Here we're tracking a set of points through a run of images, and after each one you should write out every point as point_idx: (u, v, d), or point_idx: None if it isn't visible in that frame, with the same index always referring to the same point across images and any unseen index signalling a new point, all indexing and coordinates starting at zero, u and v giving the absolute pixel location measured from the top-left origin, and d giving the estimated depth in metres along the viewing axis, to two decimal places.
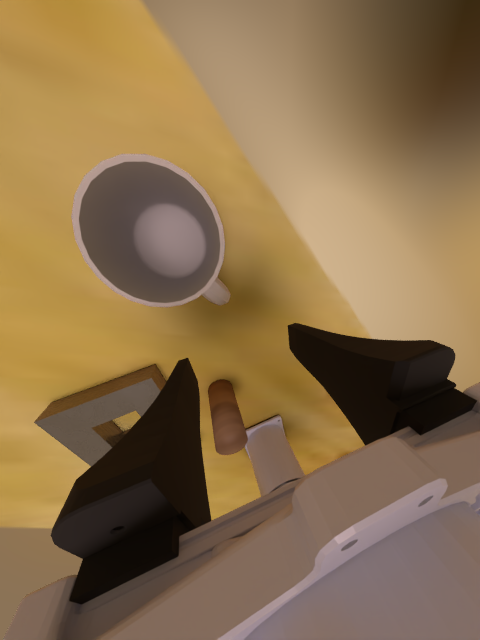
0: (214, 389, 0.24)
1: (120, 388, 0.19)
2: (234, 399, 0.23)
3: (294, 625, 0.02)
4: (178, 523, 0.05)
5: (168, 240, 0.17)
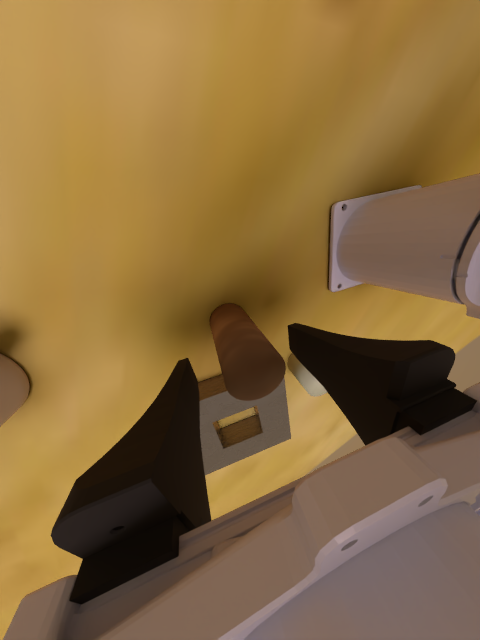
0: None
1: None
2: (223, 321, 0.13)
3: (294, 624, 0.02)
4: (178, 523, 0.05)
5: None
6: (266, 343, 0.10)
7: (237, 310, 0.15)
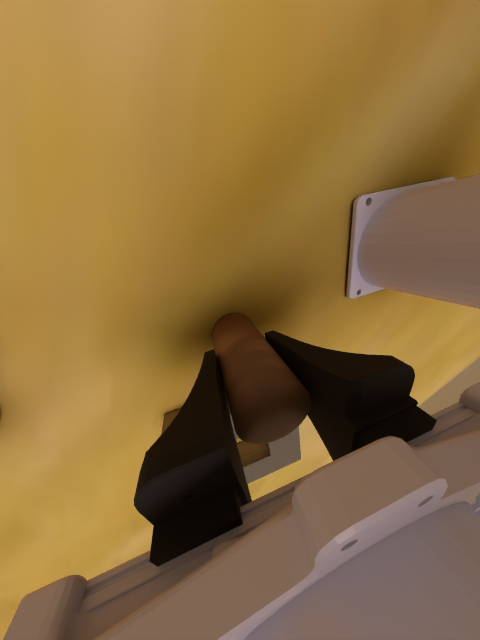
0: None
1: None
2: (228, 338, 0.11)
3: (294, 625, 0.02)
4: (237, 495, 0.05)
5: None
6: (286, 372, 0.08)
7: (244, 322, 0.12)
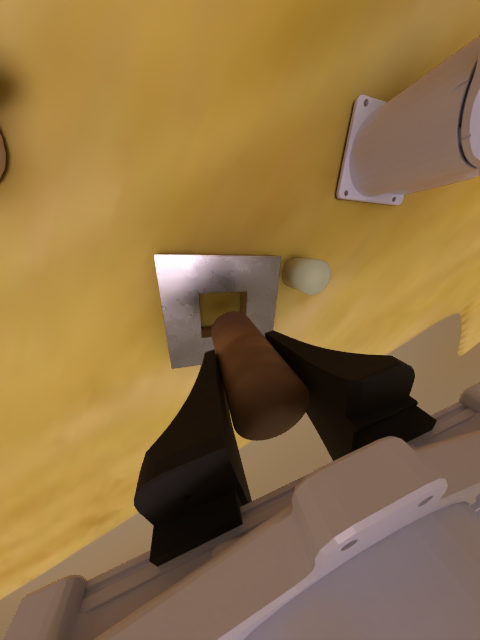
0: None
1: (160, 293, 0.16)
2: (228, 335, 0.11)
3: (294, 625, 0.02)
4: (237, 496, 0.05)
5: None
6: (286, 368, 0.08)
7: (244, 320, 0.12)
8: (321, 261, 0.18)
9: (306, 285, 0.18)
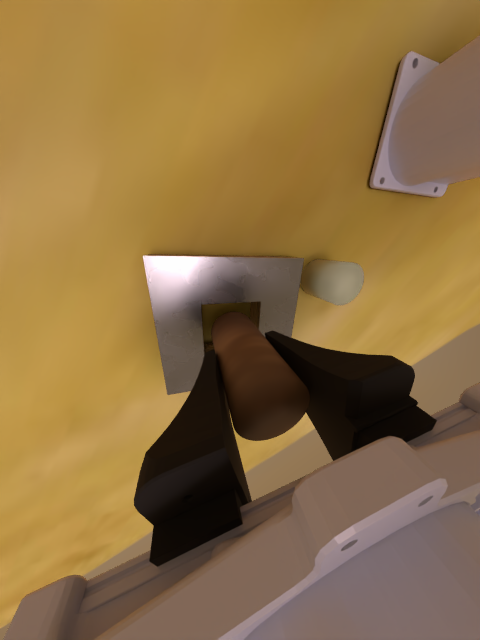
0: None
1: (152, 305, 0.13)
2: (228, 335, 0.11)
3: (294, 625, 0.02)
4: (237, 495, 0.05)
5: None
6: (286, 368, 0.08)
7: (244, 320, 0.12)
8: (354, 264, 0.14)
9: (334, 294, 0.15)
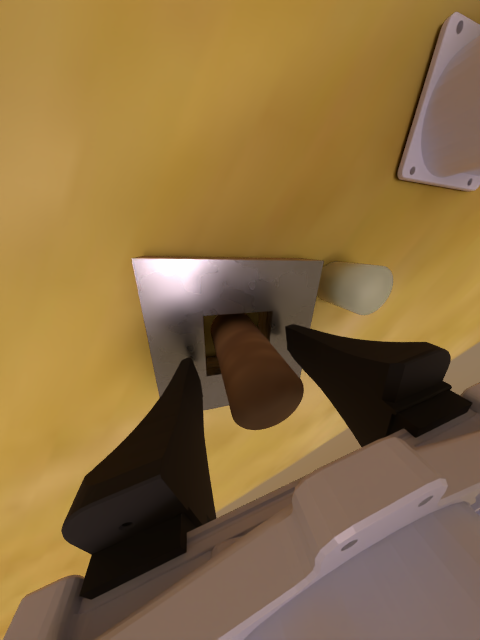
0: None
1: (144, 317, 0.11)
2: (227, 331, 0.11)
3: (294, 625, 0.02)
4: (185, 520, 0.05)
5: None
6: (281, 362, 0.08)
7: (243, 318, 0.13)
8: (383, 268, 0.12)
9: (358, 302, 0.13)
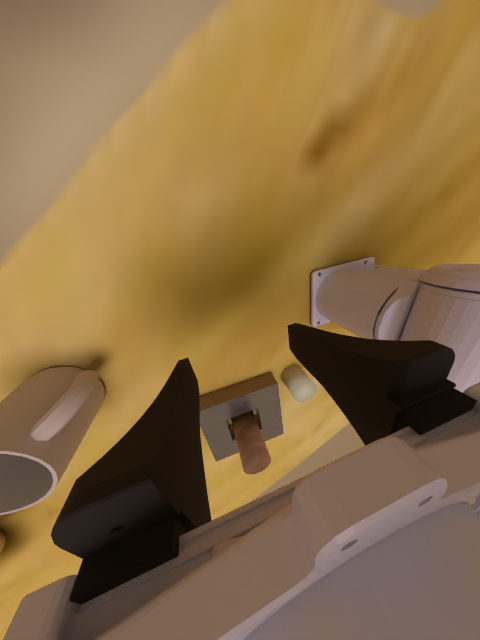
0: None
1: (201, 427, 0.24)
2: (238, 425, 0.25)
3: (294, 625, 0.02)
4: (178, 523, 0.05)
5: None
6: (259, 448, 0.21)
7: None
8: (307, 383, 0.24)
9: (299, 398, 0.25)
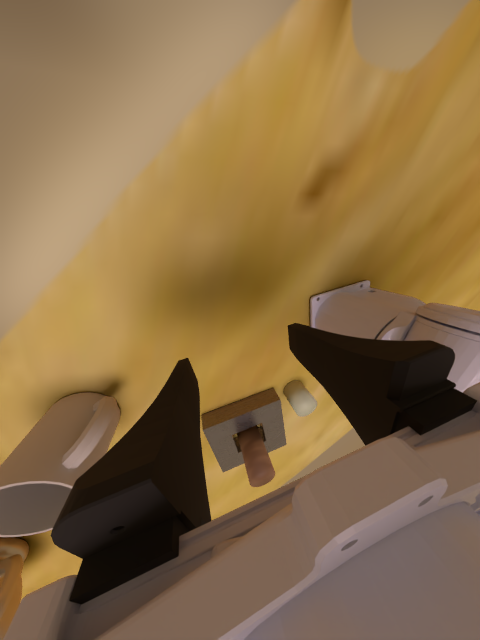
0: None
1: (209, 442, 0.26)
2: (243, 440, 0.26)
3: (294, 625, 0.02)
4: (178, 523, 0.05)
5: None
6: (264, 463, 0.23)
7: None
8: (308, 399, 0.26)
9: (301, 413, 0.27)
